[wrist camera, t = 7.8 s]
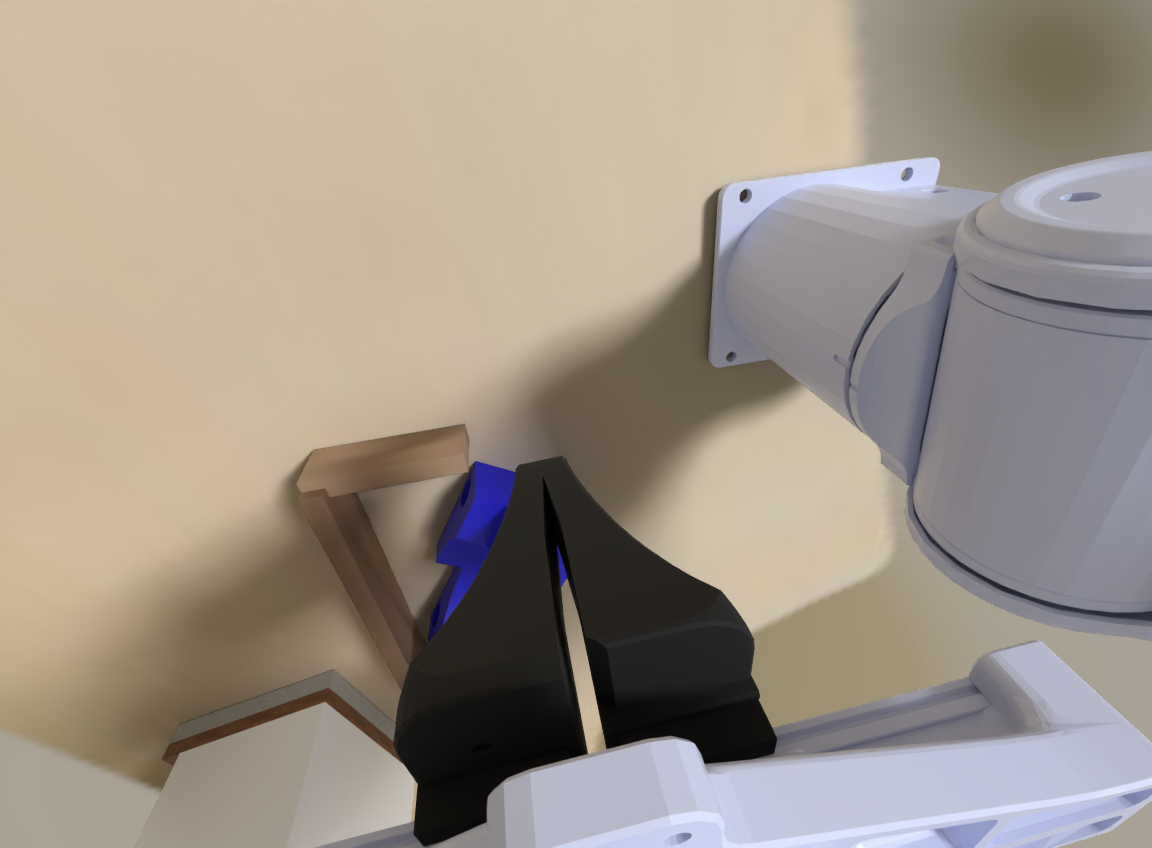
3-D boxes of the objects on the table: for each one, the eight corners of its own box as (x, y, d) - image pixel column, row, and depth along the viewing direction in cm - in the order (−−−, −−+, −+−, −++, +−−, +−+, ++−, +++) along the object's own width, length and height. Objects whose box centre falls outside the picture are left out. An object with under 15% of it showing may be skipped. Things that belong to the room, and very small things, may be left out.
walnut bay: (464, 424, 23) (463, 460, 20) (523, 644, 33) (526, 688, 30) (313, 450, 22) (292, 491, 20) (419, 667, 32) (414, 713, 29)
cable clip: (475, 459, 24) (475, 546, 19) (555, 481, 26) (573, 567, 21) (406, 610, 29) (391, 711, 24) (477, 621, 31) (477, 717, 26)
